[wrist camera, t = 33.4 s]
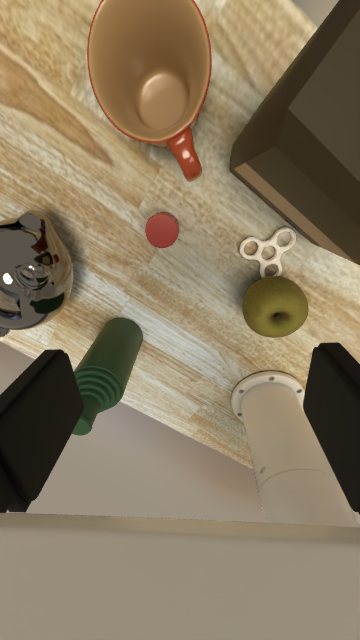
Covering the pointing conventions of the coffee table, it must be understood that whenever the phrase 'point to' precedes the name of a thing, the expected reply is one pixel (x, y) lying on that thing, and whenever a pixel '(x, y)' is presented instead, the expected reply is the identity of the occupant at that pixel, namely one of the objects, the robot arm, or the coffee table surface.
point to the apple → (274, 307)
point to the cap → (162, 230)
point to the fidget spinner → (264, 244)
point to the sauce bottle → (106, 369)
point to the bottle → (312, 138)
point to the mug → (152, 72)
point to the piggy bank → (32, 272)
